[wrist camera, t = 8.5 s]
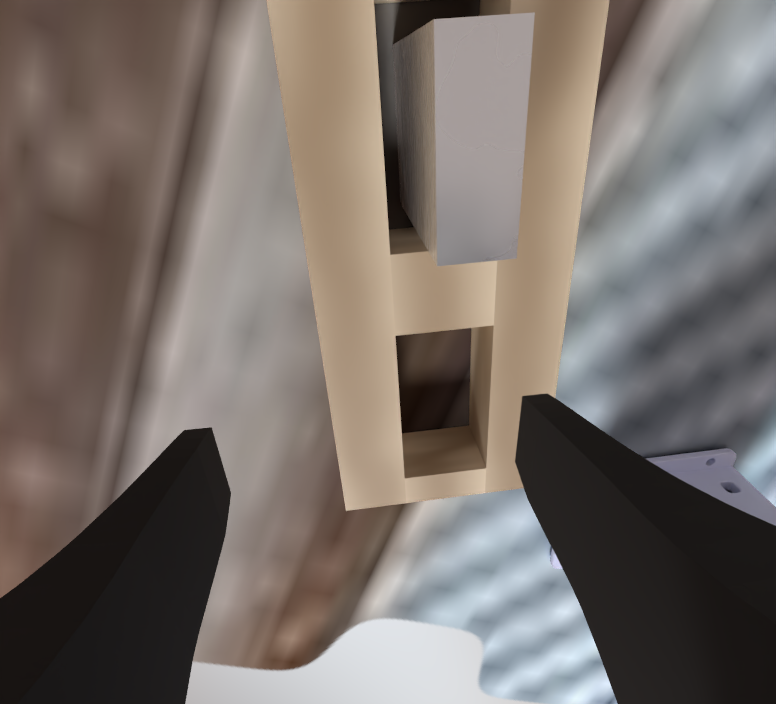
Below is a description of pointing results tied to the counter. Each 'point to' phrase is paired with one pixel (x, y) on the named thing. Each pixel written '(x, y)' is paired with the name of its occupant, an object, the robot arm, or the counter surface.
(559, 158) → the slotted wooden frame
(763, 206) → the counter surface
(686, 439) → the counter surface
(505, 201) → the steel bracket tab
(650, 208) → the counter surface
